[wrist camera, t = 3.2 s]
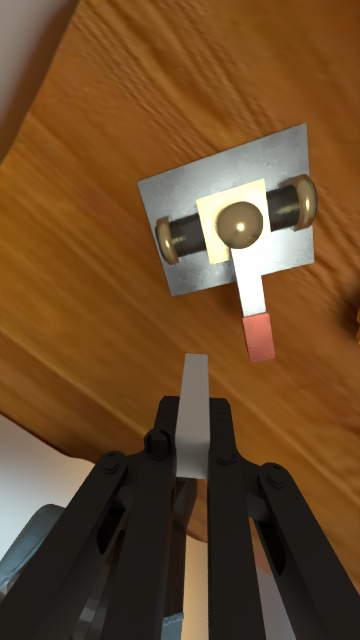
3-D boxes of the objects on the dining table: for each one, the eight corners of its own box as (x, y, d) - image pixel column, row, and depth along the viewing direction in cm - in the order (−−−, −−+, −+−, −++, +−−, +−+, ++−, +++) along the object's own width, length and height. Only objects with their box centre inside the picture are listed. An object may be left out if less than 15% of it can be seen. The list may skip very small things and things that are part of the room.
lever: (212, 210, 21) (213, 209, 18) (252, 197, 20) (260, 194, 18) (240, 348, 26) (244, 363, 24) (273, 341, 26) (281, 356, 23)
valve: (172, 294, 32) (165, 313, 26) (139, 183, 27) (119, 172, 21) (310, 260, 29) (341, 273, 23) (302, 126, 24) (338, 92, 17)
